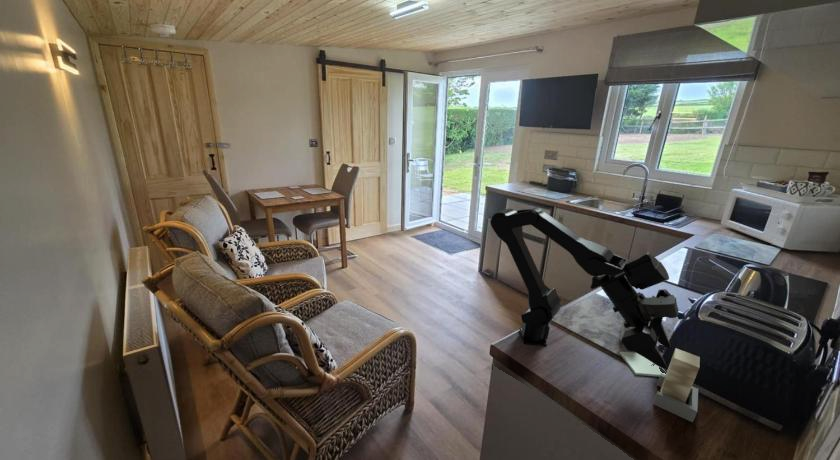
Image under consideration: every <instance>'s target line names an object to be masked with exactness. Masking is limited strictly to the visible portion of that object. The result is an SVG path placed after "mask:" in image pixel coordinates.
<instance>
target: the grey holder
mask: <svg viewBox="0 0 840 460" xmlns="http://www.w3.org/2000/svg"><path fill="white" fill-rule="evenodd" d="M665 376H666V375H664V374H660V377H659V378H658V381H657V384H656V386H658V387H659V388H661V387H662V384H663V381H664V378H665ZM687 400H688V403H683V402H681V401H679V400H676V399H674V398H672V397H670V396H667V395H665V394H663V393H661V392H660V391H658V390H657V392H656V394H655V397H654V400H653V405H654V406H657V407H659V408H660V409H663V410H664V411H668V412H670V413H672V414H673V415H676V416H678V417H680V418H683V419H684V420H686V421H689V422H690V423H694V420H695V419H696V416H697V414H698V404H699V388H697V387H694V386H693V385H692V388H691V390H690V393H689V395H688V398H687Z"/></svg>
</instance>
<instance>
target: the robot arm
mask: <svg viewBox="0 0 840 460" xmlns="http://www.w3.org/2000/svg"><path fill="white" fill-rule="evenodd" d="M490 225H491V228H492V230H493V232H494V233H495V235H496V236H497V237H498V238H499V239H500V240H501V241H502V242H503V243H505V245H506V247H507V249H508V250H509V252H510V255H511V257H512V259H513V261H514V264H515V266H516V268H517V270H518V272H519V274H520V277H521V279H522V281H523V283H524V285H525V287H526V290H527V294H528V297H527V298H528V306H529V307H528V308H527V309H526V310H525V311H524V312H523V313H522V314H521V318H520V319H521V321H522V324H521V328H519V330H520V331H519V330H518V331H519V334H520V337H521V339H522V341H523V344H525V345H537V346H538V345H539V346H547V345H548V342H547V340H548V338H549V333H550V329H551V327H550V325H549V324H550V322H551V321H552V320H553V319H554V317H555V316H557V314H558V312H560V310H561V302H562V299H561V298H560V297H559V296H558V293H557V290H556V288H555V287H551V288H549V287H548V286H547V285H546V284H545V282H544V280H543V278H542V276H541V274H540V272H539V269H538V267H537V265H536V263H535V261H534V259H533V257H532V255H531V252H530V249H529V248H528V245H527V243H526V241H525V239H524V236H523V235H524V234H523V227H524V226H532V227H533V228H535V229H536V230H538V231H539V232H541V233H542V234H544V236H546V237H548V238H549V239H550V240H551V241H553V242H554V243H556V244H557V245H558V246H560V247H561V248H563V249H564V250H565V251H566V252H568V254H570V255H571V256H572V257H573V259H574V261H575V262H576V264H577V265H579V266H580V268H581V269H582V270H583V271H584V272H585V273H586V274H588V275H589V276H592V278H591V281H592V282H591V285H590V289H591V290H594V289H597V288H601V289H602V291H603V293H605V295H606V297H607V298H608V299H609V301H610V302H611V303H612V305H613V307H612V310H613V312H614V313H619V315H620V316H621V317H622V319H624V320H625V322H624V326H625V327H626V328H628V327H633V329H630V330H627V331H625V332H624V335H623V337H622V341H620V344H621V345H622V346H623V348H624V349H625V352H632V353H637V354H639V355H641V356H643V357H645V358H646V359H648V360H649V361H651V362H652V363H654V364H656V365H657V366H659V367H660V368H662V369H663V370H665V369H666V368H667V369H668V365H667V363H666V361H665V359H664V357H663V355H662V353H661V352H660V351H661V350H660V349H659V348H658V345H657V344H658V343H659V344H660V345H662V346H663V347H664V348H666V349H668V348H671V343H670V340H669V338H668V335H667V333H666V330H665V328H664V325H663V322H662V321H663V320H664V319H663V318H669V319H675V318H678V316H679V307H678V303H677V298H676V296H675V295H674V294H671V293H670V292H669V291H668V290H667V289H666V288H665V289H664V288H661V289H658V290H657V293H656V296H655V295H651V297H650V296H649V297H646V295H644V294H643V293H642V292H637V291H636V290H638V289H639V290H646V289H649V288H651V287H653V286H656V285H659V284H662V283H664V282H667V281H668V280H670V277H669V273H668V271H667V269H666V267H665V266H664V265H663V263H662V262H661V261H659V260H658V259H657V258H656V257H655V256H653V255H652V254H651V253H650V252H649V251H647V252H645V253H643V254H640V256H638V257H636V258H634V259H632V260H631V259H630V260H629V259H627V258H624V257H622V256H619V255H618V254H614V253H613V251H611V250H610V249H609V248H607V247H605V246H604V245H601V244H599V243H597V242H594V241H591V240H588V239H585V238H583V237H581V236H580V235H578V234H577V233H576V232H574V231H572V230H571V229H569V228H568V227H566V226H565V225H564V224H562V223H561V222H559V221H558V220H556V219H555V218H554V217H552V216H551V215H549V214H548V213H546V212H545V211H544V210H543V209H542V208H541V207H533V208H527V209H526V208H525V209H519V210H516V209H513V208H507V209H504V210H501V211H499V212H496V213H494V214H493V215H492V217H491V219H490ZM634 327H635V328H634ZM521 329H522V330H521Z"/></svg>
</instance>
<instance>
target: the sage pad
mask: <svg viewBox="0 0 840 460" xmlns="http://www.w3.org/2000/svg"><path fill="white" fill-rule="evenodd" d="M619 355H620V356H621V357H622V359H623V360H624V361H625V363H626V365H627V366H628V367H629V369H631V371H632V373H634V375H635V376H644V377H645V376H647V377H660V374H664V375H666V374H665V373H662V372H661V371H660V369H659V366H657V365H656V364H655V365H654V366H653V365H652V364H653V363H652V362H651V361H649V360H648V359H646V358H645V357H643V356H641V355H639V354H637V353H636V352H631V351H619ZM651 365H652V366H651Z"/></svg>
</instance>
